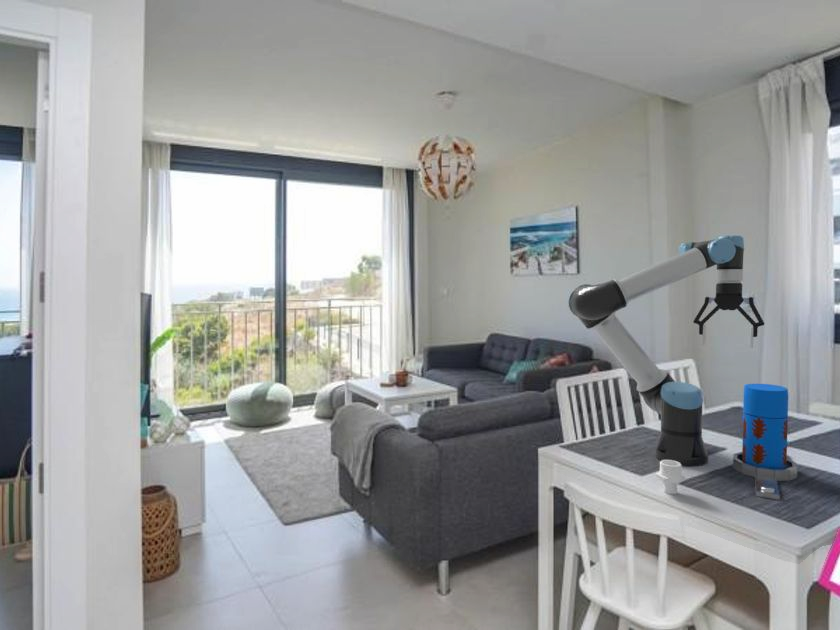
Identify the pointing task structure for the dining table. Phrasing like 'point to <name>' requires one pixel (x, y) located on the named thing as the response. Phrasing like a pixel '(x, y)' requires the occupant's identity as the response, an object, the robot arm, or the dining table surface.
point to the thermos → (765, 425)
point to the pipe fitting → (670, 475)
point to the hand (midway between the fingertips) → (727, 345)
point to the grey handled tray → (766, 476)
